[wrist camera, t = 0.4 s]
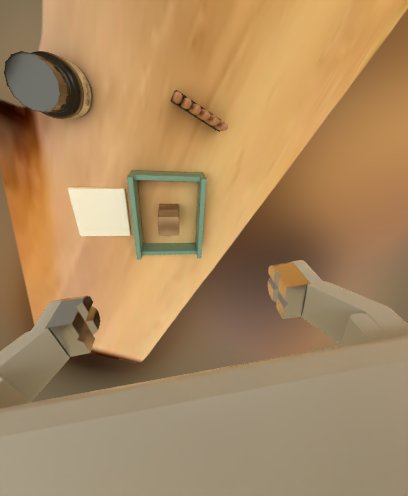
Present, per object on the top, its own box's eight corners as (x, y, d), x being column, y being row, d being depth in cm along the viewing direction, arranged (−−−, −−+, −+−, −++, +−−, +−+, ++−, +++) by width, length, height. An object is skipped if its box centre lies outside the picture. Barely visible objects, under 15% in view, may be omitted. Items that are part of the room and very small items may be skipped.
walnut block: (159, 203, 54) (157, 217, 48) (178, 204, 55) (178, 217, 48) (160, 220, 57) (158, 235, 50) (178, 220, 57) (178, 235, 51)
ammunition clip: (220, 121, 47) (234, 124, 36) (216, 130, 47) (228, 136, 37) (174, 91, 43) (175, 85, 33) (170, 101, 44) (169, 98, 34)
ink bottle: (93, 125, 44) (69, 130, 34) (43, 113, 42) (2, 114, 32) (93, 65, 40) (66, 50, 29) (37, 47, 38) (-13, 25, 27)
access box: (131, 170, 49) (127, 177, 44) (202, 172, 52) (206, 179, 47) (140, 246, 60) (137, 259, 55) (198, 246, 62) (201, 258, 57)
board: (69, 186, 50) (67, 188, 49) (124, 188, 51) (124, 189, 50) (81, 234, 56) (80, 235, 55) (130, 233, 58) (130, 235, 57)
